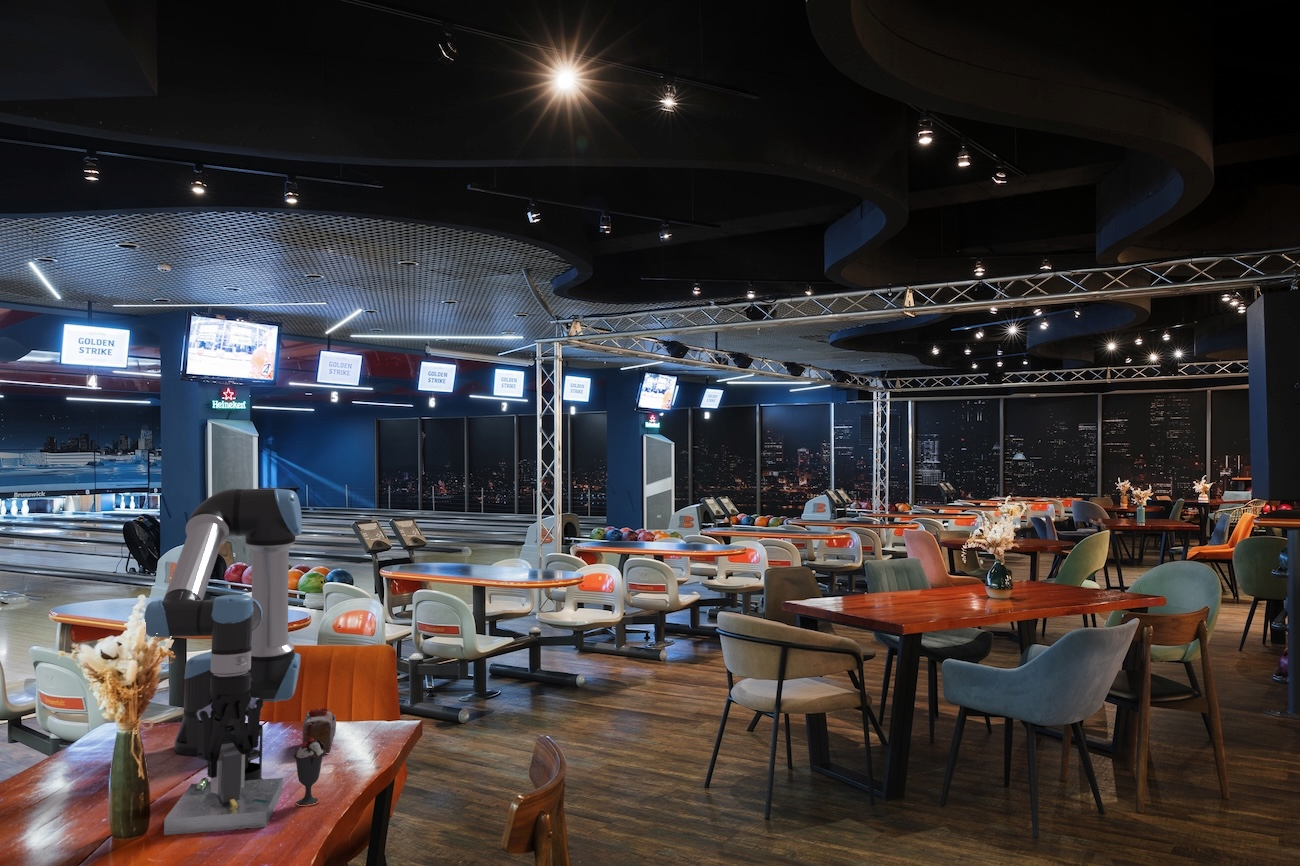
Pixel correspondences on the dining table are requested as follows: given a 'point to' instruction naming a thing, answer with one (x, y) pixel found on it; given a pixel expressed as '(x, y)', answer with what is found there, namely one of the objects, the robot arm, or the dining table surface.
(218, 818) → the base
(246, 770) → the french press
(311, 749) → the sundae
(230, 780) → the dark grey rectangular block
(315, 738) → the food item
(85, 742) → the dining table surface
